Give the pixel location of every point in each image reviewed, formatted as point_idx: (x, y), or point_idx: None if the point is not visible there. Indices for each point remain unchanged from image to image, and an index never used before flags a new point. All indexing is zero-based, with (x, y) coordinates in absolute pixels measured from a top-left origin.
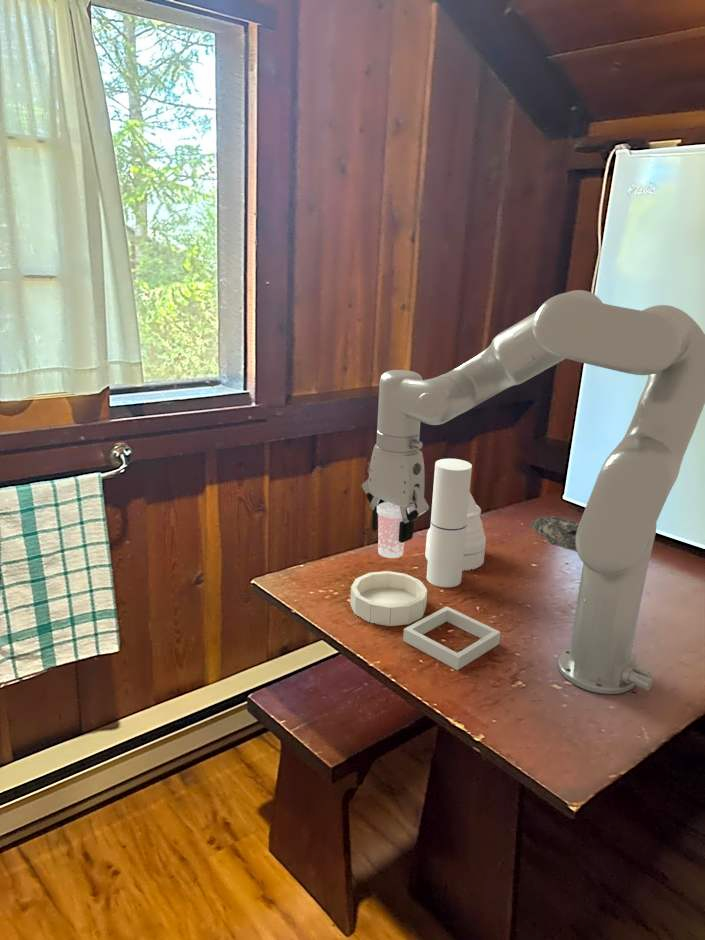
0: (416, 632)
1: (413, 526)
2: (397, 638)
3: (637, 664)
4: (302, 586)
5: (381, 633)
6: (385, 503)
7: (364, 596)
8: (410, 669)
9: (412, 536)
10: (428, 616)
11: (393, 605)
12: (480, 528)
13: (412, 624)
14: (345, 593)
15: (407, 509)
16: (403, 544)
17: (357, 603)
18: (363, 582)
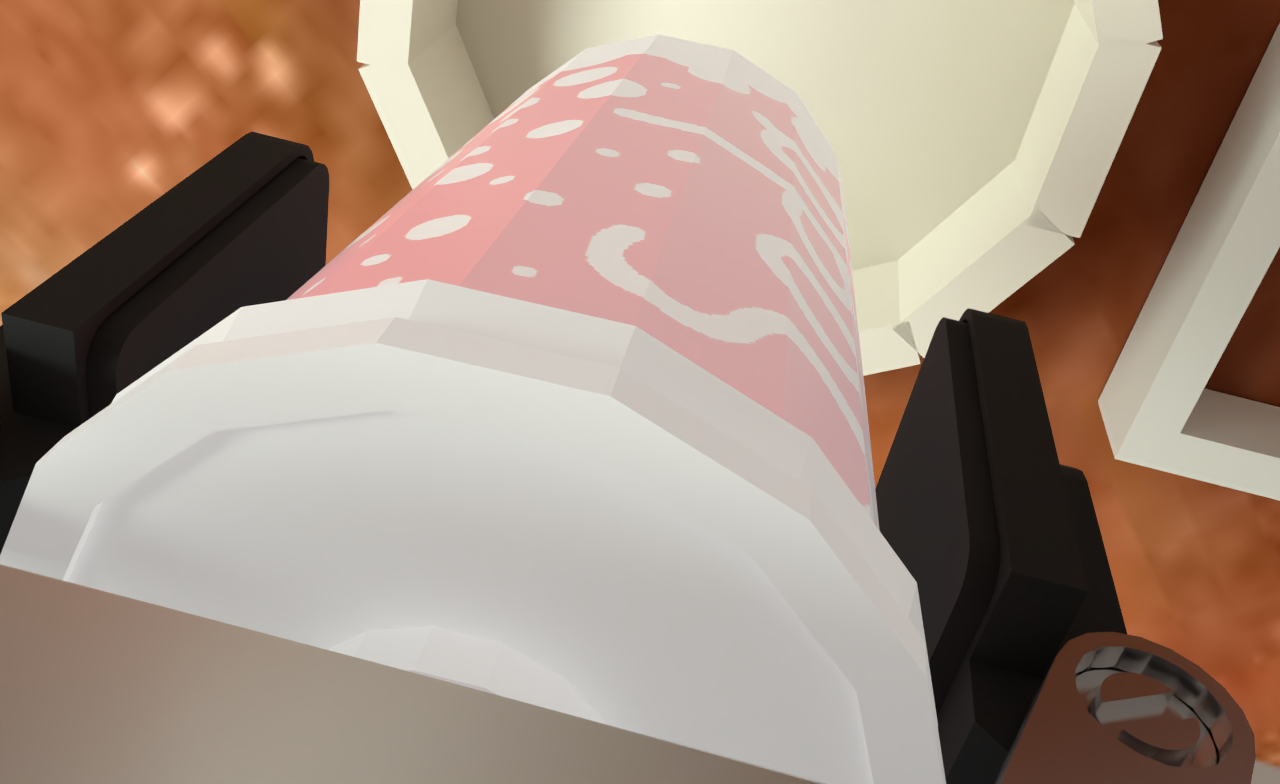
0: (1233, 457)
1: (1113, 592)
2: (1045, 391)
3: None
4: (26, 132)
5: (908, 392)
6: None
7: (517, 47)
8: (1264, 641)
9: (1024, 327)
10: (1262, 184)
11: (928, 320)
12: None
13: (1160, 372)
14: (333, 25)
15: (820, 642)
16: (850, 267)
17: None
18: (426, 8)
